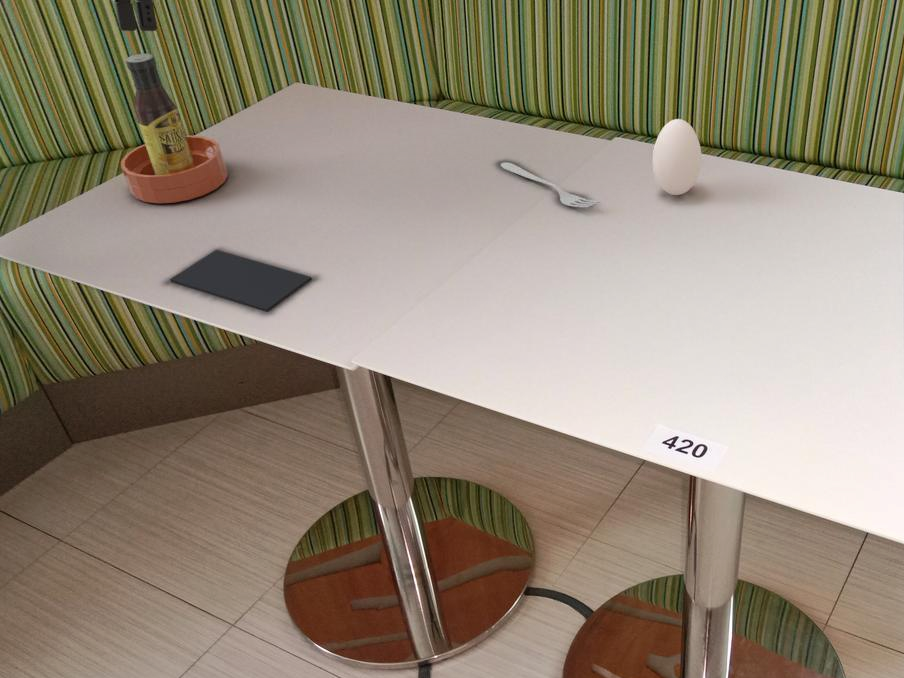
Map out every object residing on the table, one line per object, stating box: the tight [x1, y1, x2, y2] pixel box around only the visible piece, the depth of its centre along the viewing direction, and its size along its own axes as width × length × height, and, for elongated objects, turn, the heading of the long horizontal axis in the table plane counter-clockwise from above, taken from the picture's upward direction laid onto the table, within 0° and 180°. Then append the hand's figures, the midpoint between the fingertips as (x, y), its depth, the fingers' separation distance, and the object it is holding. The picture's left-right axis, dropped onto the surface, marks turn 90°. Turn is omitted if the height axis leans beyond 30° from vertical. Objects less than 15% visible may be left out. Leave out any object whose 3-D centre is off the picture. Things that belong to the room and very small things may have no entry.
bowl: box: [120, 134, 229, 204], centre depth 157 cm, size 15×15×5 cm
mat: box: [169, 249, 313, 313], centre depth 135 cm, size 18×9×1 cm, turn 62°
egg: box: [652, 118, 702, 196], centre depth 147 cm, size 7×7×12 cm
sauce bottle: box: [125, 53, 195, 175], centre depth 152 cm, size 6×6×20 cm
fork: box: [500, 162, 602, 208], centre depth 153 cm, size 3×24×2 cm, turn 40°
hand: (138, 30), depth 140 cm, fingers open, 8 cm apart
